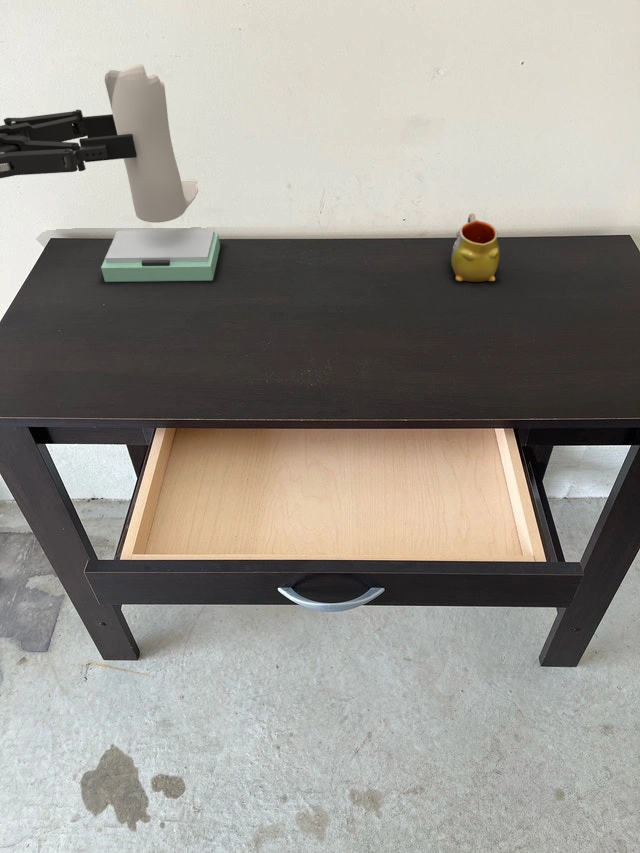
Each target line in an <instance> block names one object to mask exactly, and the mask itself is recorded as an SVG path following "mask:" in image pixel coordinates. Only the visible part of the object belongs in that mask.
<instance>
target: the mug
mask: <svg viewBox="0 0 640 853" xmlns="http://www.w3.org/2000/svg"><path fill="white" fill-rule="evenodd" d="M498 235H499V232H498V231H497V229H496V228H495V227H494V226H493V225H492V224H490V223H488V222H485V221H481V220H479V219H476V215H475V213H473V212H472V213H470V214H469V215H468V217H467V223H465V224H463V225H462V226H461V227H460V228H459V229H458V230H456V239H455V241H454V243H453V245H452V252H451V256H450V265H451V268H452V272H453V273H454V275H455V281H457V282H471V283H482V282H495V281H496V277H495V274H496V273H497V271H498V268H499V265H500V259H501V258H500V257H501V252H500V245H499V241H498Z"/></svg>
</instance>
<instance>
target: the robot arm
mask: <svg viewBox="0 0 640 853" xmlns="http://www.w3.org/2000/svg"><path fill="white" fill-rule="evenodd" d="M3 123H4V124H2V125H0V179H5V178H9V177H15V176H30V175H46V174H62V173H64V174H65V173H75V172H77V171H78V172H84V171H85V170H86V169H87V168H86V165H85V163H94V162H103V161H113V160H122V159H123V160H124V158H134V157H137V154H136V149H135V145H134V140H133V136H132V134H124V135H117V130H116V126H115V122H114V118H113V113H112V114H100V115H91V116H90V115H89V116H84V115H83V112H82V109H75V110H71V111H66V112H65V111H64V112H56V113H49V114H40V115H31V116H26V117H24V116H23V117H6V118H4V119H3ZM76 139H79V140H78V141H79V142H72V141H71V140H76ZM70 141H71V142H70Z"/></svg>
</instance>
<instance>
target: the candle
mask: <svg viewBox="0 0 640 853" xmlns="http://www.w3.org/2000/svg"><path fill="white" fill-rule="evenodd" d="M104 84H105V88H106V91H107V92H106V93H107V96H108V100H109V104H110V108H111V113H112V114H113V118H114V122H115V126H116V130H117V135H124V134H132V136H133V140H134V145H135V149H136V154H137V157H134V158H124V159H123V162H124V166H125V170H126V175H127V179H128V183H129V187H130V194H131V199H132V205H133V208H134V212H135V216H136V217H137V218H138V220H140V221H143V222H146V223H156V224H158V223H166V222H170V221H173V220H176V219H178V218H180V217H181V216H183V215H184V214H185V213H186V211H187V209H188V208H189V206H190V205H191V204H192V203H193V201H194V200H195V199H196V197H197V195H198V193H199V189H198V186H196V185H197V184H198V180H196V181H181V179H182V178H181V175H180V171H179V167H178V163H177V161H176V156H175V152H174V147H173V143H172V138H171V137H172V136H171V130H170V124H169V115H168V114H169V113H168V104H167V95H166V88H165V83H164V81H161V80H160V77H159V76H158V75H157V74H156V73H152V74H150V75H147V72H146V68H145V66H144V64H142V63H138V64H135V65H132V66H130V67H128V68H126V69H123V70H116V69H111V70H109V71H108V72H107V73H105V74H104Z"/></svg>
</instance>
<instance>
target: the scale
mask: <svg viewBox="0 0 640 853" xmlns="http://www.w3.org/2000/svg"><path fill="white" fill-rule="evenodd" d="M219 235H220V234H219V233H218V232H215V229H213V228H209V229H143V230H141V229H140V230H139V229H136V230H130V229H129V230H117V231H116V233H115V235H114V237H113V240H112V242H111V244H110V245H109V248H108V251H107V253H106V255H105V257H104V260H103V262H102V265H101V267H100V270H101V273H102V276H103V279H104V282H105V283H114V282H116V283H117V282H118V283H121V282H123V283H124V282H126V283H127V282H195V281H196V282H200V281H201V282H203V281H204V282H205V281H209V282H210V281H213V280H214V276H215V273H216V267H217V263H218V259H219V254H220V249H221V242H220V236H219Z"/></svg>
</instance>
